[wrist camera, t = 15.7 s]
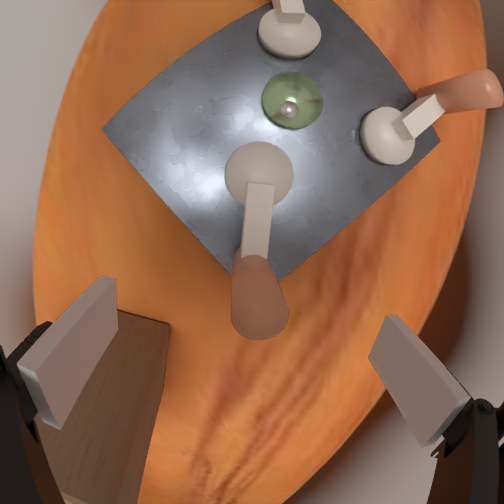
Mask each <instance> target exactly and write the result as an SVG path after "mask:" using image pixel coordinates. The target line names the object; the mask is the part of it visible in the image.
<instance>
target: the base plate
mask: <svg viewBox="0 0 504 504" xmlns="http://www.w3.org/2000/svg"><path fill="white" fill-rule="evenodd" d="M302 1H303V5H304V9H305V12H306V13H308V14H309V15H310V16H312V17H313V18H314V19H315V20H316V22H317V23H318V25H319V27H320V30H321V39H320V41H319V43H318V45H317V46H316V47H315V49H314V50H313V51H312V52H311V53H310V54H308V55H307V56H304V57H301V58H294V59H291V58H284V57H280V56H277V55H275V54H273V53H271V52H270V51H269V50H267V49H266V48H265V47H264V46H263V45H262V43H261V41H260V39H259V36H258V30H259V25H260V21H261V19H262V17H263V16H264V15H265V14H266V13H267V12H268V11H270V10H272V9H274V8H273V3H272V2H269V3H267V4H265V5H263V6H261V7H259V8H258V9H256V10H254V11H252V12H250V13H248V14H246V15H245V16H243V17H241V18H239V19H237V20H236V21H234V22H232V23H231V24H229V25H227V26H226V27H224V28H222V29H221V30H219V31H218V32H216V33H215V34H213V35H211V36H210V37H208V38H207V39H205V40H204V41H203V42H201V43H200V44H198V45H197V46H195V47H194V48H193V49H191V50H190V51H188V52H187V53H186V54H184V55H183V56H182V57H180V58H179V59H178V60H176V61H175V62H174V63H173V64H171V65H170V66H169V67H167V68H166V69H165V70H164V71H163V72H161V73H160V74H159V75H158V76H157V77H155V78H154V79H153V80H152V81H151V82H150V83H148V84H147V85H146V86H145V87H144V88H143V89H142V90H141V91H140V92H138V93H137V94H136V95H135V96H134V97H133V98H132V99H131V100H130V101H129V102H128V103H127V104H126V105H125V106H124V107H123V108H122V109H121V110H120V111H119V112H118V113H117V114H116V115H115V116H114V117H113V118H112V119H111V120H110V121H109V122H108V123H107V124H106V125H105V126H104V127H103V128H102V130H103V131H104V133H105V134H106V135H107V136H108V137H109V139H110V140H111V141H112V142H113V143H114V145H115V146H116V147H117V148H118V149H119V151H120V152H121V153H122V154H123V155H124V156H125V158H126V159H127V160H128V161H129V162H130V164H131V165H132V166H133V167H134V168H135V169H136V171H137V172H138V173H139V174H140V175H141V176H142V177H143V179H144V180H145V181H146V182H147V183H148V184H149V186H150V187H151V188H152V189H153V190H154V191H155V192H156V194H157V195H158V196H159V197H160V198H161V199H162V200H163V201H164V203H165V204H166V205H167V206H168V207H169V208H170V209H171V210H172V212H173V213H174V214H175V215H176V216H177V217H178V218H179V219H180V220H181V222H182V223H183V224H184V225H185V226H186V227H187V228H188V229H189V230H190V232H191V233H192V234H193V235H194V236H195V237H196V238H197V239H198V240H199V241H200V243H201V244H202V245H203V246H204V247H205V248H206V249H207V250H208V251H209V252H210V253H211V254H212V256H213V257H214V258H215V259H216V260H217V261H218V262H219V263H220V264H221V265H222V266H223V267H224V268H225V270H226V271H227V272H228V273H229V274H230V275H231V276H232V257H233V255H234V253H235V251H236V250H237V249H238V248H239V247H241V236H242V224H243V213H244V205H243V204H241V203H240V202H238V201H237V200H236V199H235V198H234V197H233V196H232V194H231V193H230V191H229V189H228V187H227V184H226V179H225V171H226V166H227V163H228V161H229V159H230V157H231V155H232V154H233V153H234V152H235V151H236V150H237V149H238V148H240V147H241V146H243V145H245V144H247V143H251V142H257V141H263V142H268V143H271V144H274V145H276V146H277V147H279V148H280V149H282V150H283V151H284V152H285V153H286V155H287V156H288V157H289V159H290V161H291V164H292V167H293V173H294V178H293V184H292V187H291V189H290V191H289V193H288V194H287V196H286V197H285V198H284V199H283V200H282V201H281V202H279V203H278V204H276V205H274V206H273V208H272V218H271V228H270V237H269V246H268V258H269V260H270V263H271V265H272V268H273V270H274V273H275V275H276V278H277V280H278V282H279V281H280V280H282V279H283V278H284V277H285V276H287V275H288V274H289V273H290V272H292V271H293V270H294V269H295V268H296V267H298V266H299V265H300V264H301V263H303V262H304V261H305V260H306V259H308V258H309V257H310V256H311V255H312V254H314V253H315V252H316V251H317V250H319V249H320V248H321V247H322V246H323V245H325V244H326V243H327V242H328V241H329V240H331V239H332V238H333V237H334V236H335V235H337V234H338V233H339V232H340V231H341V230H342V229H344V228H345V227H346V226H347V225H348V224H349V223H351V222H352V221H353V220H354V219H355V218H357V217H358V216H359V215H360V214H361V213H362V212H363V211H365V210H366V209H367V208H368V207H369V206H370V205H371V204H373V203H374V202H375V201H376V200H377V199H378V198H379V197H381V196H382V195H383V194H384V193H385V192H386V191H387V190H388V189H390V188H391V187H392V186H393V185H394V184H395V183H396V182H397V181H398V180H400V179H401V178H402V177H403V176H404V175H405V174H406V173H407V172H408V171H409V170H411V169H412V168H413V167H414V166H415V165H416V164H417V163H418V162H419V161H420V160H421V159H422V158H424V157H425V156H426V155H427V154H428V153H429V152H430V151H431V150H432V149H433V148H434V147H435V146H436V145H437V144H438V143H439V142H440V139H439V137H438V135H437V134H436V132H435V130H434V128H433V126H432V125H430V126H429V127H427V128H426V129H425V130H424V131H423V132H422V133H421V134H419V135H418V136H417V137H416V138H415V146H414V150H413V153H412V155H411V156H410V158H409V159H408V160H406V161H405V162H403V163H401V164H382V163H379V162H377V161H375V160H374V159H373V158H372V157H371V156H370V155H369V154H368V153H367V152H366V150H365V148H364V146H363V144H362V141H361V135H360V129H361V124H362V121H363V119H364V117H365V116H366V115H367V114H368V113H369V112H371V111H373V110H375V109H378V108H381V107H392V108H395V109H397V110H399V111H400V112H402V111H403V110H404V109H406V108H407V107H408V106H410V105H411V104H412V103H413V102H415V101H416V98H415V97H414V95H413V94H412V92H411V91H410V89H409V88H408V87H407V85H406V84H405V82H404V81H403V79H402V78H401V77H400V75H399V74H398V73H397V71H396V70H395V69H394V67H393V66H392V65H391V63H390V62H389V61H388V60H387V58H386V57H385V56H384V55H383V53H382V52H381V51H380V50H379V48H378V47H377V46H376V45H375V44H374V43H373V41H372V40H371V39H370V38H369V37H368V36H367V35H366V34H365V33H364V31H363V30H362V29H361V28H360V27H359V26H358V25H357V24H356V23H355V22H354V21H353V20H352V19H351V18H350V17H349V16H348V15H347V14H346V13H345V12H344V11H343V10H342V9H341V8H340V7H339V6H338V5H337V4H336V3H335V2H333V1H332V0H302Z"/></svg>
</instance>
